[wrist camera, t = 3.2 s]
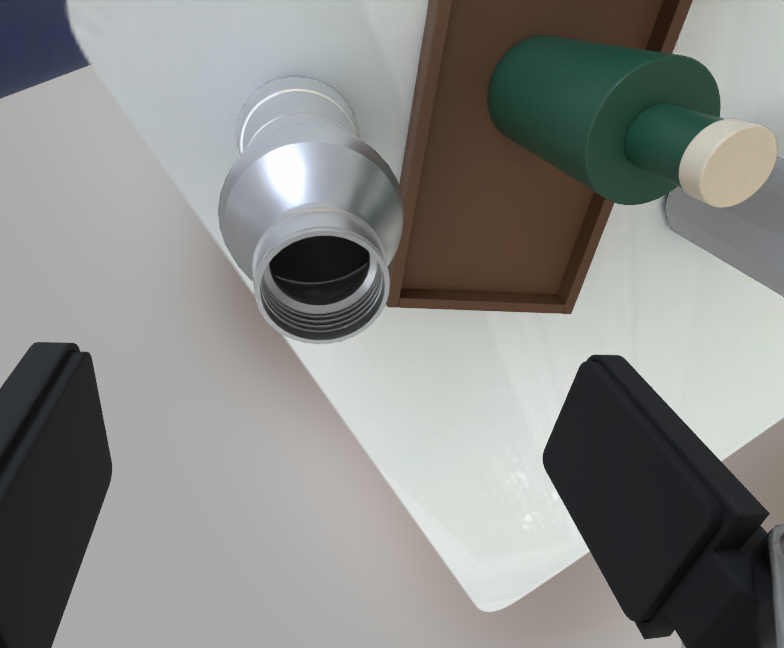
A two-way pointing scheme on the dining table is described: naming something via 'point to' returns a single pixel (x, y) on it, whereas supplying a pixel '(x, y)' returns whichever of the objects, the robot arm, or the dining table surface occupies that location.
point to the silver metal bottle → (310, 212)
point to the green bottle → (627, 121)
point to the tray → (501, 162)
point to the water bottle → (738, 229)
